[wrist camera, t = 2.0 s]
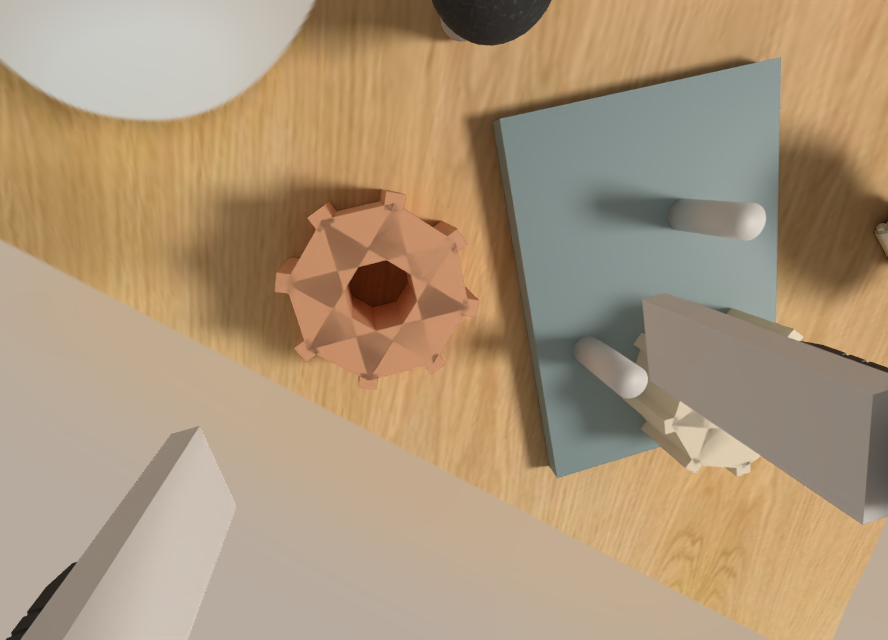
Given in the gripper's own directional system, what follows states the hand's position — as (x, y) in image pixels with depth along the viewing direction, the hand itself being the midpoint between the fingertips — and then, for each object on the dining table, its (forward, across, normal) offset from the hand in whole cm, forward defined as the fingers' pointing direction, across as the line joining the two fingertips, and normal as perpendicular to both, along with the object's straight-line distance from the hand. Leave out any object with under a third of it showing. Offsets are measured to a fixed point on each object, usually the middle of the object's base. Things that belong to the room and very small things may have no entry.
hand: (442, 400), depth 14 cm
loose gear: (+17, -1, 0) cm, 17 cm away
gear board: (+17, +17, -5) cm, 24 cm away
